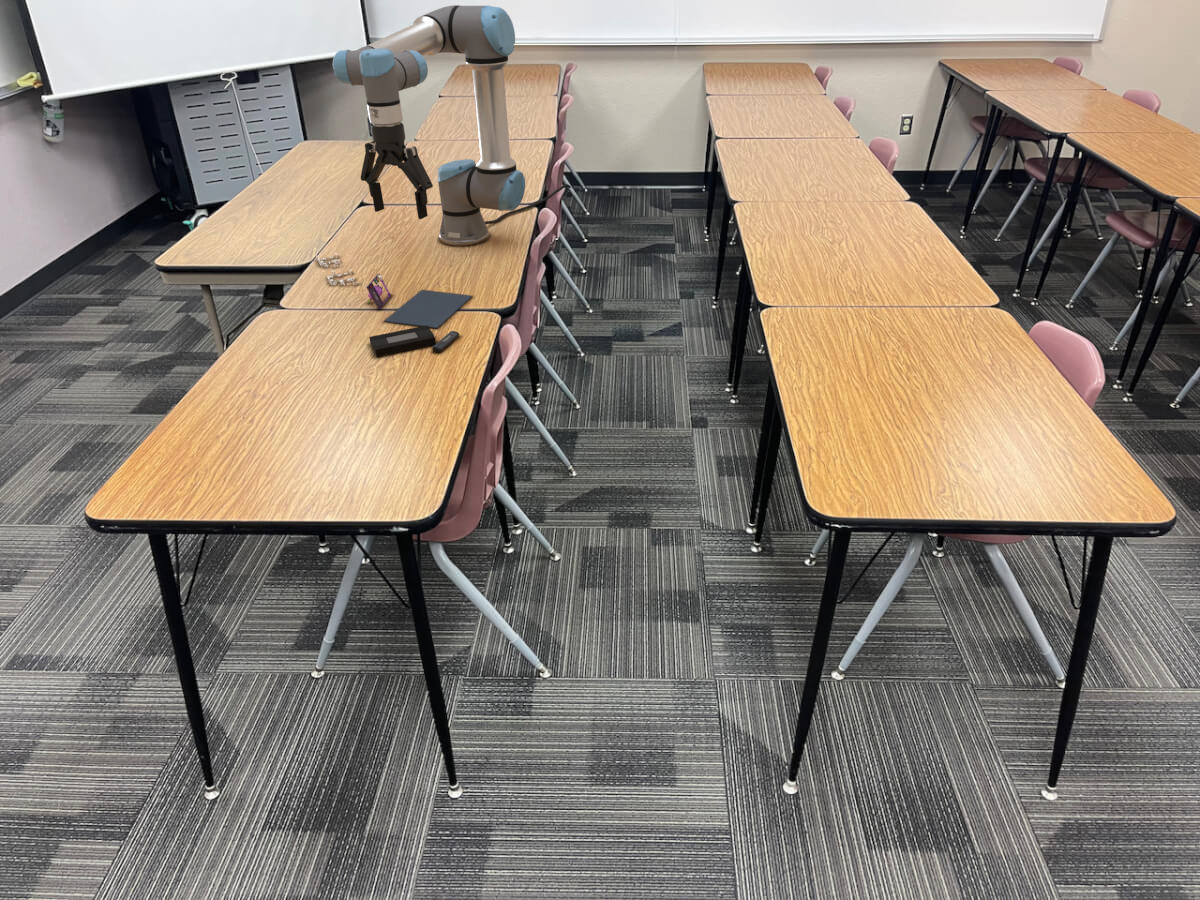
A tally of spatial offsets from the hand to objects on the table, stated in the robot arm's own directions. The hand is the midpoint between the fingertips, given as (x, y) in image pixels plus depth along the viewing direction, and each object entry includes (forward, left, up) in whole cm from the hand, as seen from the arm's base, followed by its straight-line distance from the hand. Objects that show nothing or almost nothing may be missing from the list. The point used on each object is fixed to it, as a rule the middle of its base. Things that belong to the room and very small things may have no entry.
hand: (401, 213), depth 201 cm
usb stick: (+18, +18, -25) cm, 36 cm away
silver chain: (-15, -34, -25) cm, 44 cm away
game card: (+1, -11, -25) cm, 27 cm away
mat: (+1, +5, -24) cm, 25 cm away
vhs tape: (+21, +8, -25) cm, 33 cm away
